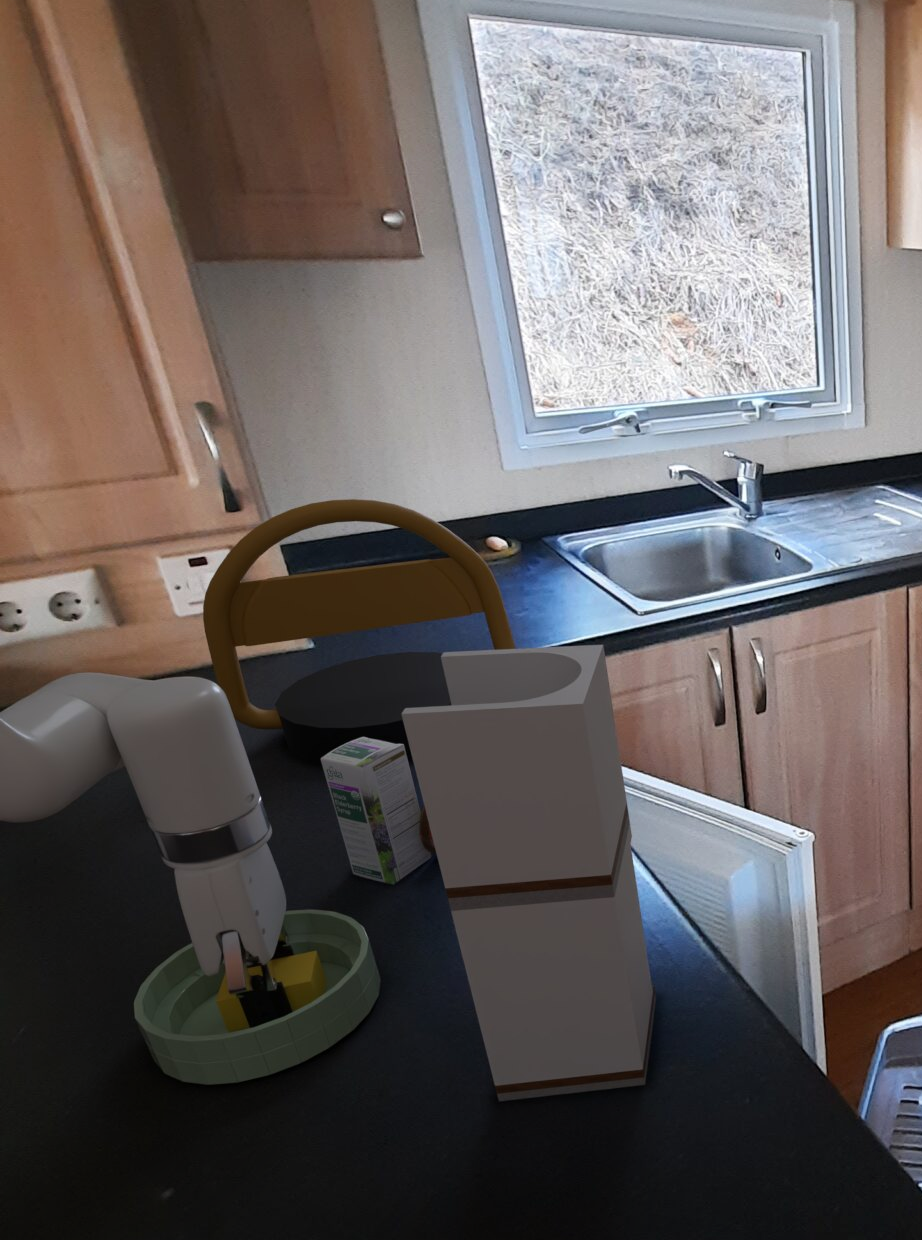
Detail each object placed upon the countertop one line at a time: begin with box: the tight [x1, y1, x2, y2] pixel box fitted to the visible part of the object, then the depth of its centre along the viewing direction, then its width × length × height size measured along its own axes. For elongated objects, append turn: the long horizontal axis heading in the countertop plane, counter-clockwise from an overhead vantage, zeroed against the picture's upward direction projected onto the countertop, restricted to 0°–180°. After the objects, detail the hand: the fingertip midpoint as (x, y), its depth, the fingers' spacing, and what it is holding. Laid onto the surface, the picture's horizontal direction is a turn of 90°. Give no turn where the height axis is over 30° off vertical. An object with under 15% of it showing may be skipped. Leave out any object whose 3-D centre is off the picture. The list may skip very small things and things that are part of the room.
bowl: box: [133, 908, 382, 1086], centre depth 92 cm, size 17×17×6 cm
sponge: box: [216, 951, 327, 1032], centre depth 92 cm, size 7×4×4 cm, turn 112°
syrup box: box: [321, 737, 432, 885], centre depth 111 cm, size 6×6×14 cm
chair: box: [202, 498, 517, 768], centre depth 136 cm, size 25×35×32 cm
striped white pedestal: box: [402, 644, 657, 1102], centre depth 82 cm, size 11×11×35 cm
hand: (277, 1002), depth 92 cm, fingers closed on sponge, 4 cm apart
